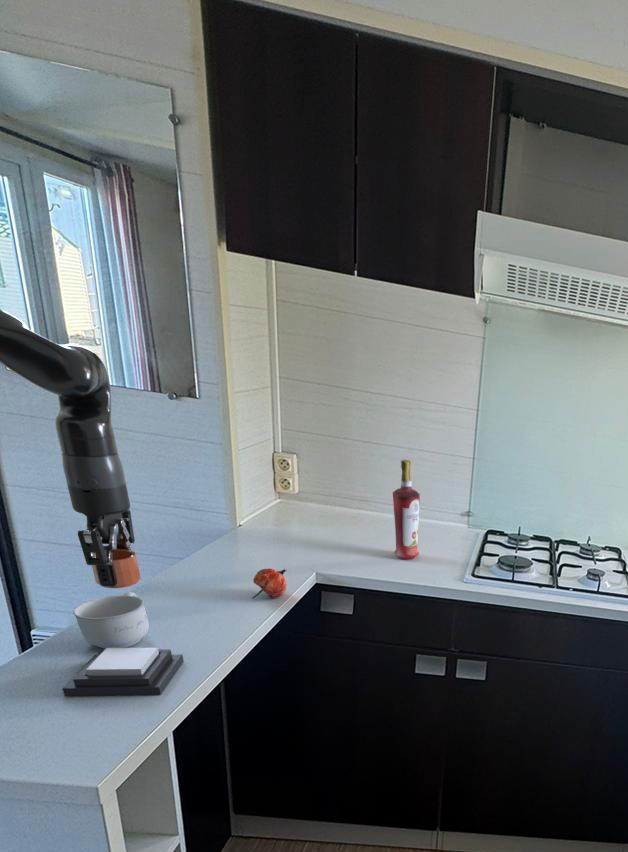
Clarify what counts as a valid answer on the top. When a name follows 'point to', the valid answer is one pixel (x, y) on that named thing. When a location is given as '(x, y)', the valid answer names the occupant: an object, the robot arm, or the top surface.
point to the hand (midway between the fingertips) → (117, 577)
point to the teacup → (113, 620)
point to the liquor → (406, 515)
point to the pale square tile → (123, 662)
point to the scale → (126, 679)
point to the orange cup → (122, 569)
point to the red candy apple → (271, 582)
